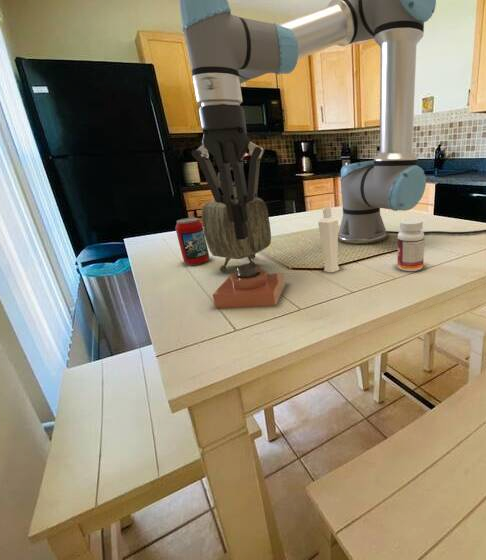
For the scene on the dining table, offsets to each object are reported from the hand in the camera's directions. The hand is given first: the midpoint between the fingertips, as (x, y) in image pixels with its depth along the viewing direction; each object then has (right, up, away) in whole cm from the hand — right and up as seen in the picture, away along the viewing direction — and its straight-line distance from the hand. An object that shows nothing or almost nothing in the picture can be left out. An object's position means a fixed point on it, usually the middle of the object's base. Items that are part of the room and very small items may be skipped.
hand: (242, 237), depth 67 cm
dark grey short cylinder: (+1, -8, +2) cm, 8 cm away
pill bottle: (+36, -6, +14) cm, 39 cm away
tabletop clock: (-5, -5, +21) cm, 23 cm away
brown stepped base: (+1, -12, +4) cm, 12 cm away
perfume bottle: (+17, -6, +16) cm, 24 cm away
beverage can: (-21, -4, +28) cm, 35 cm away
